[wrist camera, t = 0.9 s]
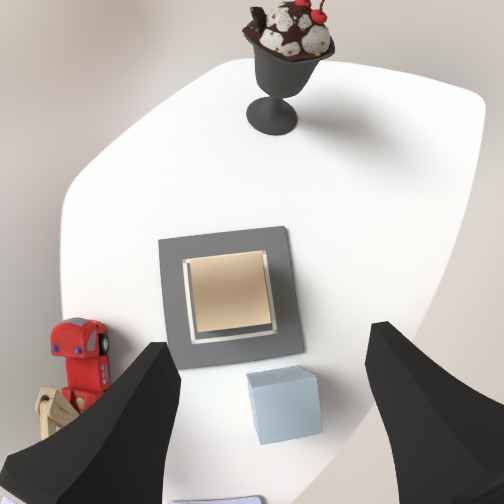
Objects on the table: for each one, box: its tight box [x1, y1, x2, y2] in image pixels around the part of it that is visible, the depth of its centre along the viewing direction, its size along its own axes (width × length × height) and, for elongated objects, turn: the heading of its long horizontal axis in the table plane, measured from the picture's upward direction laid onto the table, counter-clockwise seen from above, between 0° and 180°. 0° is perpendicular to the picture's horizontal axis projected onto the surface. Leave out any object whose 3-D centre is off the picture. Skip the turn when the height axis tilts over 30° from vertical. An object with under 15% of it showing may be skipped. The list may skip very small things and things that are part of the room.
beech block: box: [190, 252, 271, 332], centre depth 20 cm, size 4×4×4 cm
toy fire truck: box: [35, 318, 110, 440], centre depth 15 cm, size 3×14×10 cm, turn 3°
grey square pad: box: [158, 226, 304, 369], centre depth 22 cm, size 10×10×1 cm
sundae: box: [242, 0, 335, 135], centre depth 19 cm, size 7×7×15 cm
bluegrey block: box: [246, 365, 323, 445], centre depth 19 cm, size 4×4×5 cm
